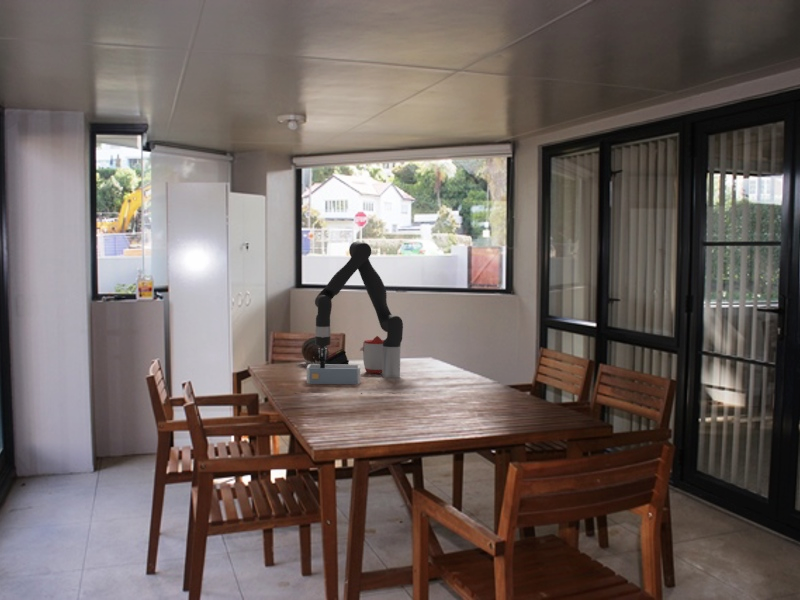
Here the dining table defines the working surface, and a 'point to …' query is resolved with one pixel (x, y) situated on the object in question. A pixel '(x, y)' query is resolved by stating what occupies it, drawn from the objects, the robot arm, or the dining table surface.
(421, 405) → the dining table surface
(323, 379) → the door
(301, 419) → the dining table surface
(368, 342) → the citrus juicer
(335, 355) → the black ridged battery pack
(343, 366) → the case
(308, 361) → the clay pot
